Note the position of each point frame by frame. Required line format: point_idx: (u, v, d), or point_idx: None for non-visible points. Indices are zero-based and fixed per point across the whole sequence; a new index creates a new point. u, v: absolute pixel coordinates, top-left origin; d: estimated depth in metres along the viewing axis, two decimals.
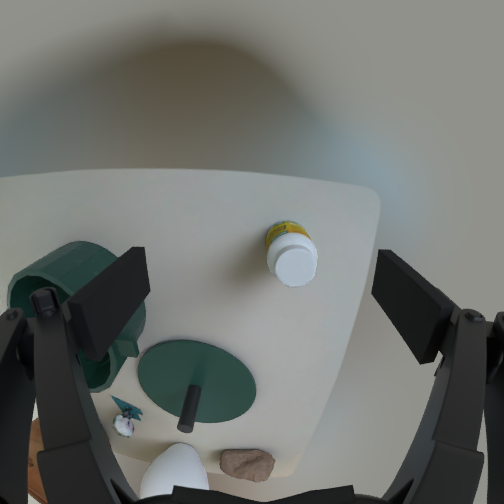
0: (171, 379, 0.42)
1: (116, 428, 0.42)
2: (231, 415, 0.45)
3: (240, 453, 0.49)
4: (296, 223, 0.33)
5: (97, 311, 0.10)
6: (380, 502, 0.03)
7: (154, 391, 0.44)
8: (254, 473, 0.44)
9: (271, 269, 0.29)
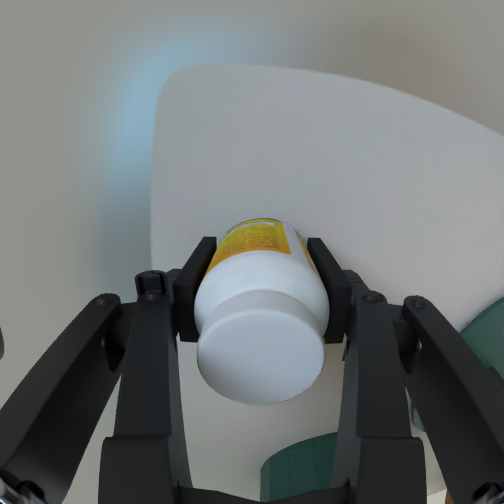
0: None
1: None
2: None
3: None
4: None
5: None
6: None
7: None
8: None
9: None
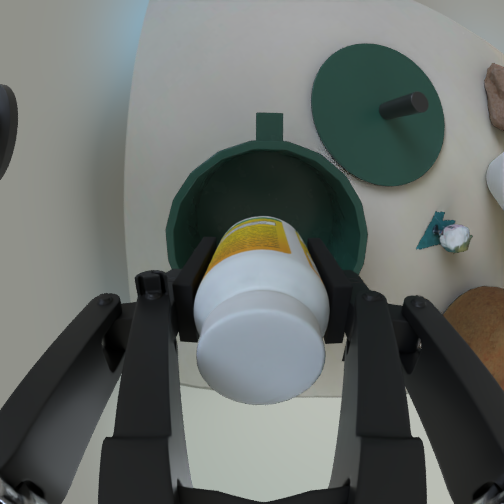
0: (374, 136, 0.32)
1: (456, 246, 0.31)
2: (426, 83, 0.28)
3: (490, 100, 0.27)
4: None
5: None
6: None
7: (399, 169, 0.33)
8: None
9: None
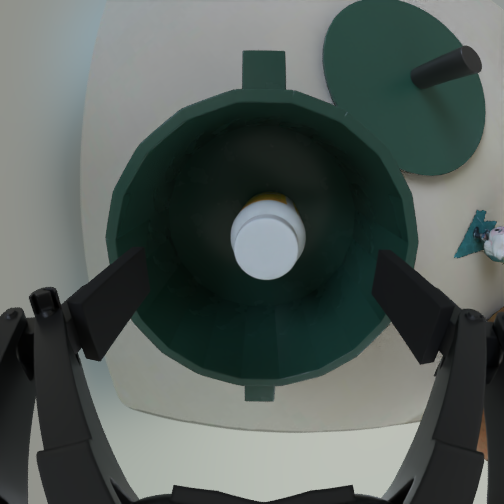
0: (407, 109, 0.21)
1: None
2: None
3: None
4: None
5: (98, 311, 0.10)
6: (380, 502, 0.03)
7: (438, 153, 0.23)
8: None
9: None
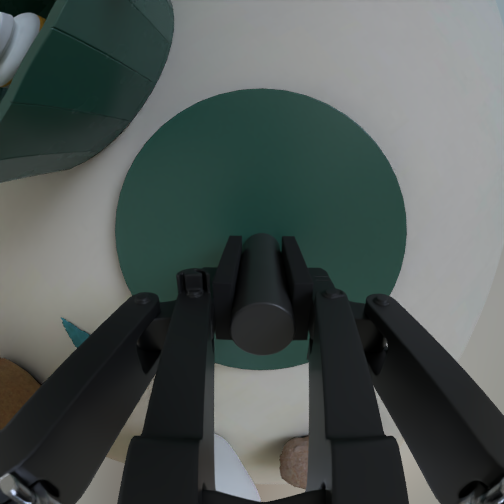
0: (201, 222, 0.18)
1: None
2: None
3: None
4: None
5: (234, 291, 0.12)
6: None
7: (151, 278, 0.19)
8: None
9: None
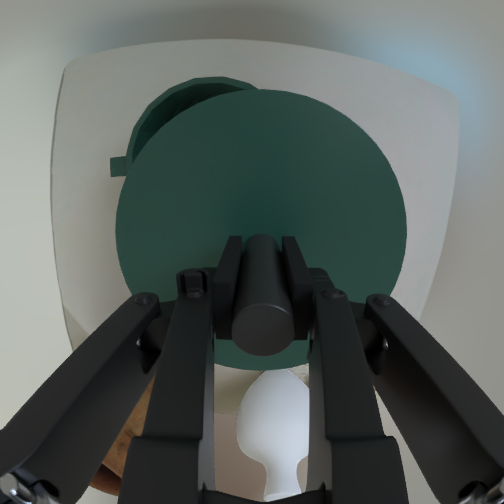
0: (201, 223, 0.18)
1: None
2: None
3: None
4: None
5: (234, 291, 0.12)
6: None
7: (151, 279, 0.19)
8: None
9: None
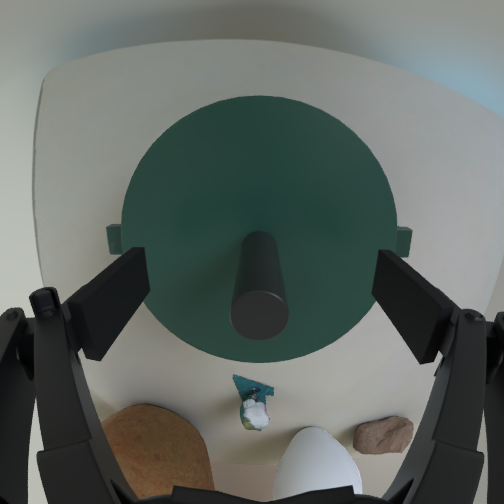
0: (202, 221, 0.19)
1: (249, 419, 0.34)
2: (331, 331, 0.22)
3: (380, 423, 0.41)
4: None
5: (97, 311, 0.10)
6: (380, 502, 0.03)
7: (155, 274, 0.20)
8: (401, 441, 0.36)
9: None
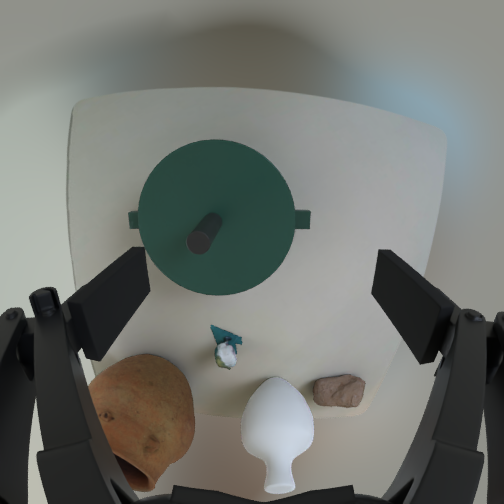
0: (182, 208, 0.35)
1: (220, 357, 0.49)
2: (259, 274, 0.37)
3: (334, 378, 0.57)
4: None
5: (97, 311, 0.10)
6: (380, 502, 0.03)
7: (156, 238, 0.36)
8: (352, 395, 0.52)
9: None
